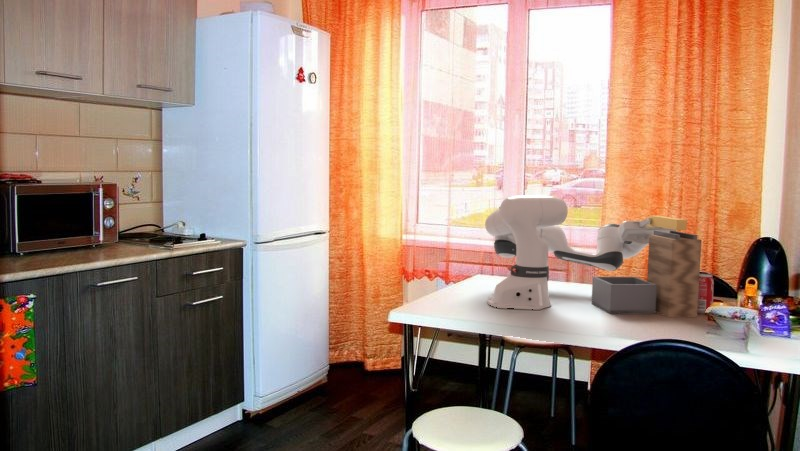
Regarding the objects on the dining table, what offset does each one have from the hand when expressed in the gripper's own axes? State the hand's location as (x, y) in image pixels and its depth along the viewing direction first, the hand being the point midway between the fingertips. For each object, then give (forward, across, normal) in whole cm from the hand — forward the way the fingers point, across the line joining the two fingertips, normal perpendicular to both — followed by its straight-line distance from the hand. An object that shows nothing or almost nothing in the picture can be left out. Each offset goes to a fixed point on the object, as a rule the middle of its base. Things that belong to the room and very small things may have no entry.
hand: (656, 219), depth 231 cm
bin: (-8, +15, -31) cm, 35 cm away
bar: (+5, 0, -6) cm, 8 cm away
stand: (-4, 0, -33) cm, 34 cm away
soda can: (-4, -11, -34) cm, 36 cm away
